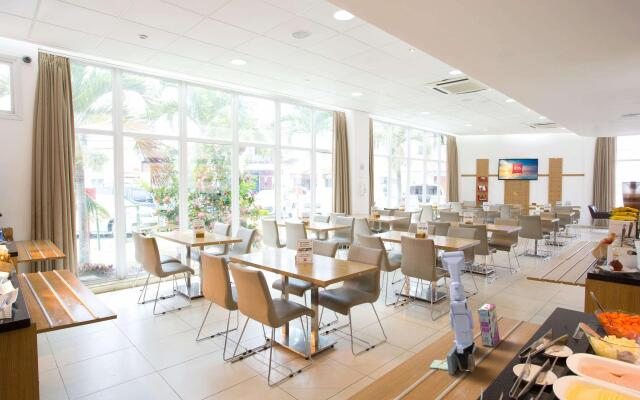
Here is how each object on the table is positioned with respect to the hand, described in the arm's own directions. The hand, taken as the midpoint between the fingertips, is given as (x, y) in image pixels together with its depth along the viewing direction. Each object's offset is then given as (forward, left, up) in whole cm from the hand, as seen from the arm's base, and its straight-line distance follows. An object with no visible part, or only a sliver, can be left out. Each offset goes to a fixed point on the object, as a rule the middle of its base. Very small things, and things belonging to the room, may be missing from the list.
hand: (467, 365), depth 148 cm
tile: (0, -10, -1) cm, 10 cm away
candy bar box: (-31, +4, -2) cm, 31 cm away
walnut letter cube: (0, 0, -2) cm, 2 cm away
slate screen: (0, -5, -1) cm, 5 cm away
